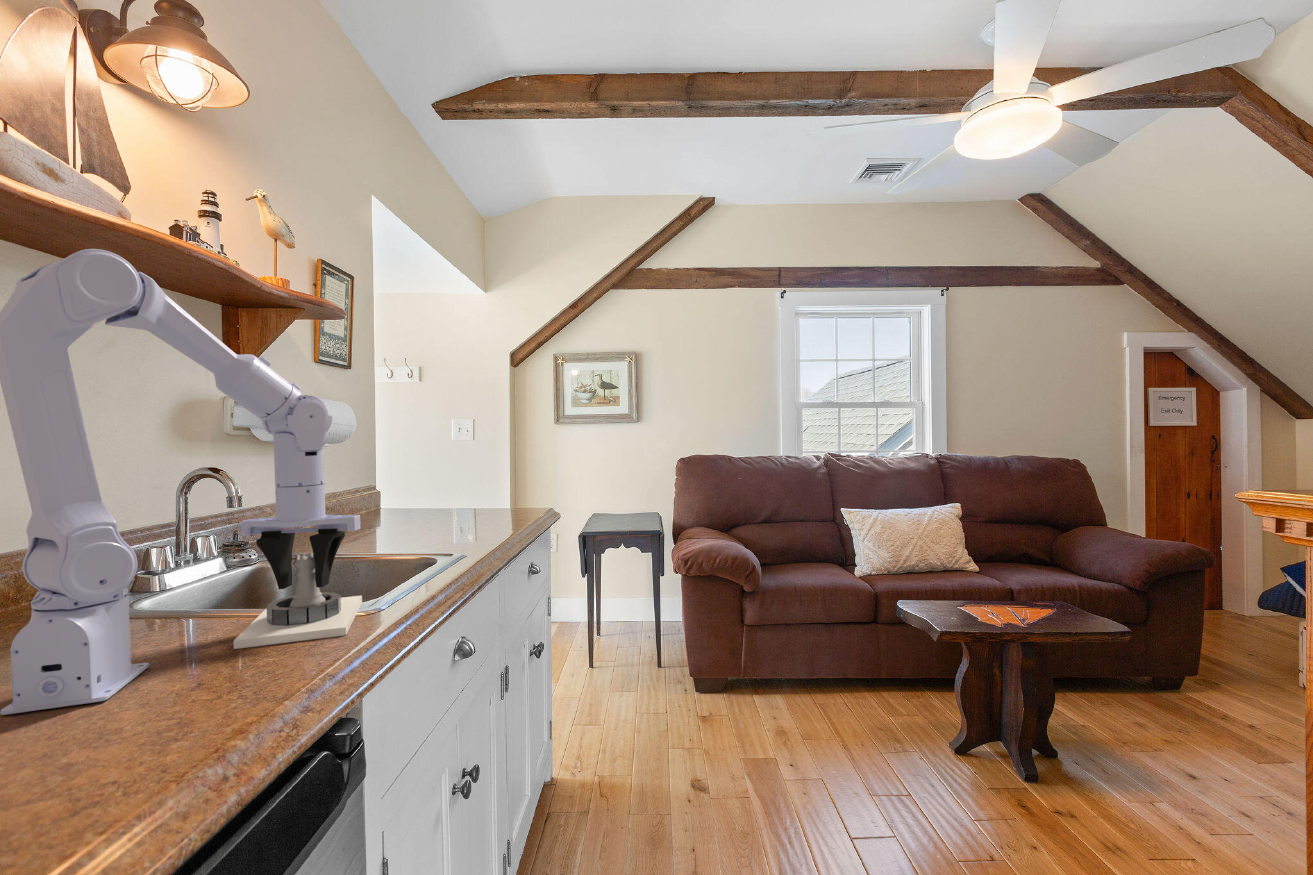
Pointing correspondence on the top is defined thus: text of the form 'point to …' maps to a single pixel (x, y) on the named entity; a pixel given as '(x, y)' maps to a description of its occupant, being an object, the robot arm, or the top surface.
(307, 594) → the rook chess piece
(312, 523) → the robot arm
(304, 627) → the mount plate
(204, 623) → the top surface
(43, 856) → the top surface
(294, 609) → the segmented grey ring
